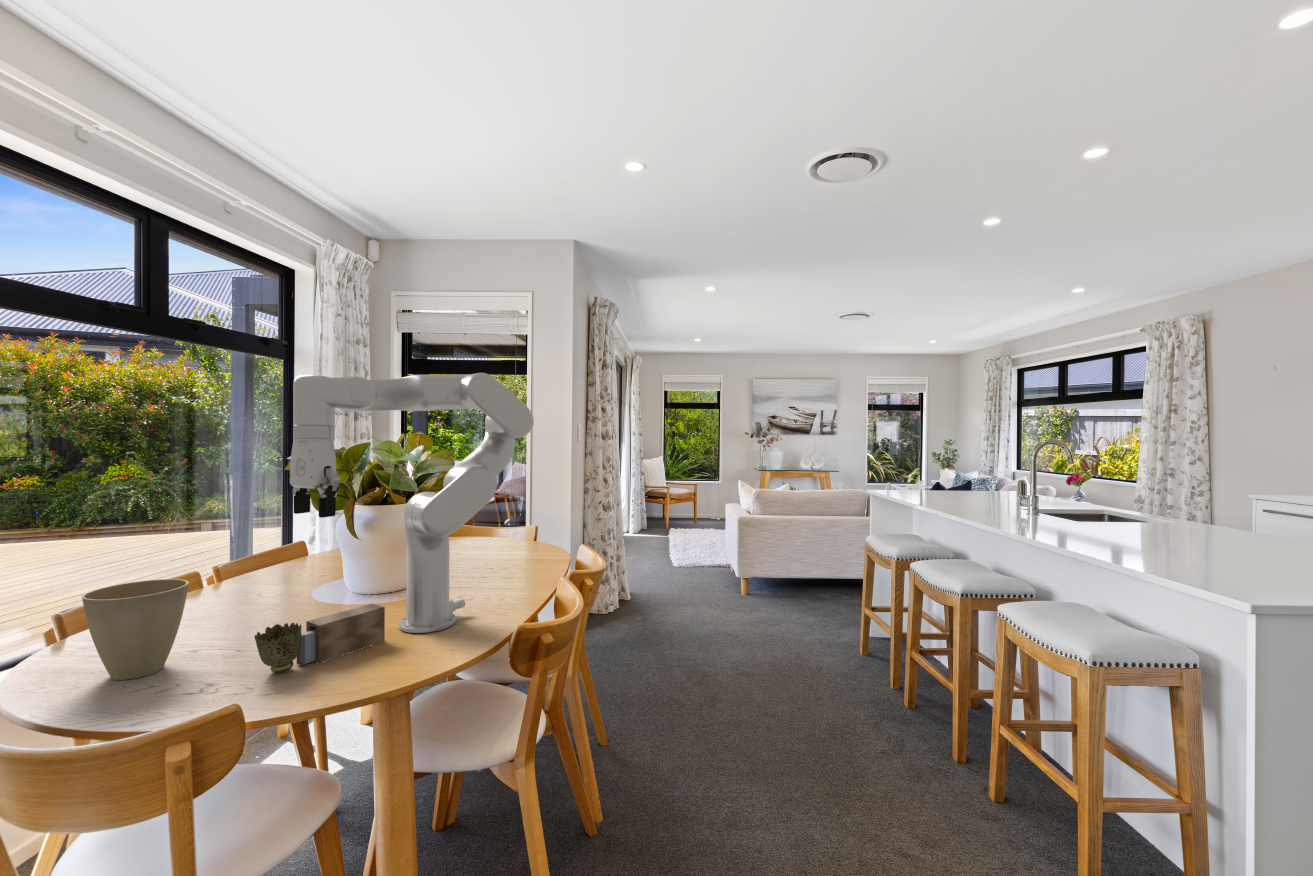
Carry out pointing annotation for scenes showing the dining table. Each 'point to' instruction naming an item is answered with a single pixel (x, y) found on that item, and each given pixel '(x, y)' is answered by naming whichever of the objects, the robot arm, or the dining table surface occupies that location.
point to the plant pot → (135, 624)
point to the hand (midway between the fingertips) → (314, 514)
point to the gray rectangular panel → (307, 648)
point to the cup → (279, 646)
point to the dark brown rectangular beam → (348, 631)
